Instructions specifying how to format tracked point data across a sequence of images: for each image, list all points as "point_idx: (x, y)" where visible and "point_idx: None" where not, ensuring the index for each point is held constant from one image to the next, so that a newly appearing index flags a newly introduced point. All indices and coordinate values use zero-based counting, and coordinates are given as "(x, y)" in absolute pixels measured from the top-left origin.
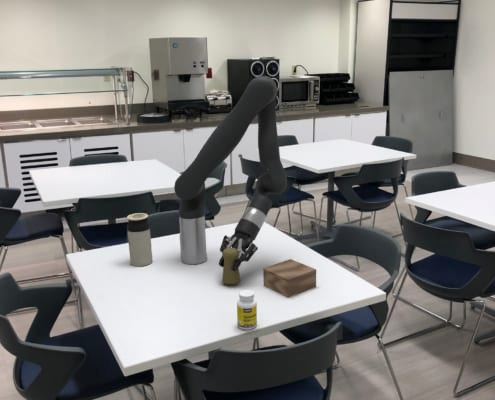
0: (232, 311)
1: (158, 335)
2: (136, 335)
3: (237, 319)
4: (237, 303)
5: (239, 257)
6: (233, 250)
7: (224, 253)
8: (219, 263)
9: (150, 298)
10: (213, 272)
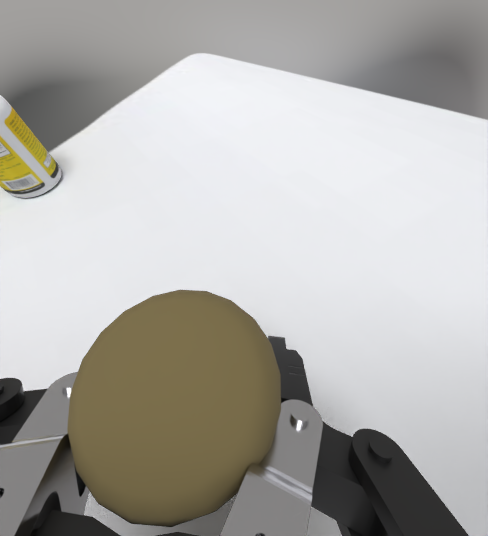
0: (104, 213)
1: (211, 95)
2: (247, 84)
3: (46, 150)
4: (1, 96)
5: (58, 383)
6: (100, 370)
7: (205, 291)
8: (278, 338)
9: (367, 167)
10: None
